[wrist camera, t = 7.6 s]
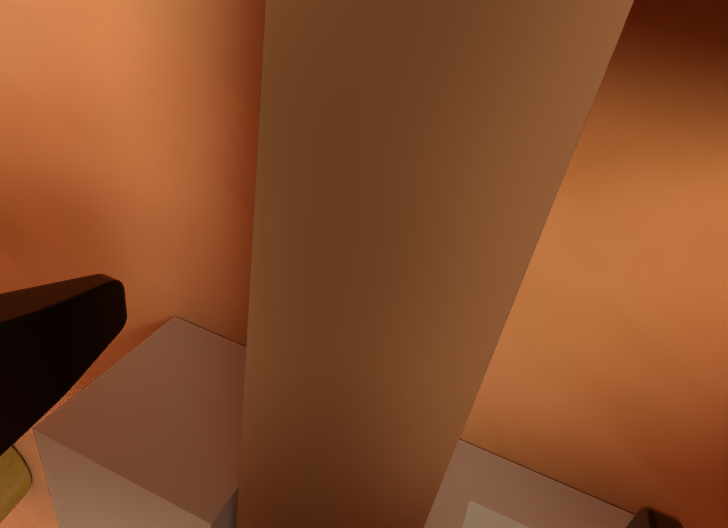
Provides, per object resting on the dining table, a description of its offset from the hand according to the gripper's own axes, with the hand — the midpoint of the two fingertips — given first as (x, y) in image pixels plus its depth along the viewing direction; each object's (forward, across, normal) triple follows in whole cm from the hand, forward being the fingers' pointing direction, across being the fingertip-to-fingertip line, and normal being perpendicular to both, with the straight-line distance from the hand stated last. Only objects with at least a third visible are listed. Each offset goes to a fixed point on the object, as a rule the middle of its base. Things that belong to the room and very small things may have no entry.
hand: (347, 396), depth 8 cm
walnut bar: (+3, 0, 0) cm, 3 cm away
